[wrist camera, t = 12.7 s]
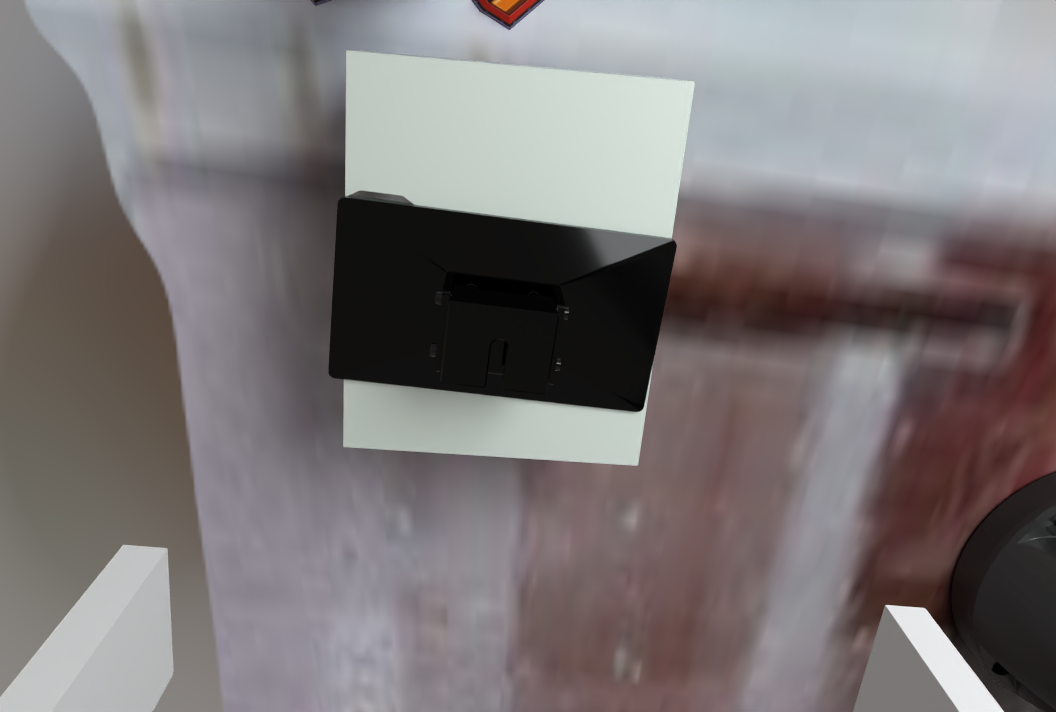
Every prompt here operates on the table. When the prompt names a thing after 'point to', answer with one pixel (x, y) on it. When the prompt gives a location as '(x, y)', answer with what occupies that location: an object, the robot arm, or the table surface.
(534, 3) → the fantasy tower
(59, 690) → the robot arm
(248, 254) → the table surface
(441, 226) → the build plate
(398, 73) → the top block
